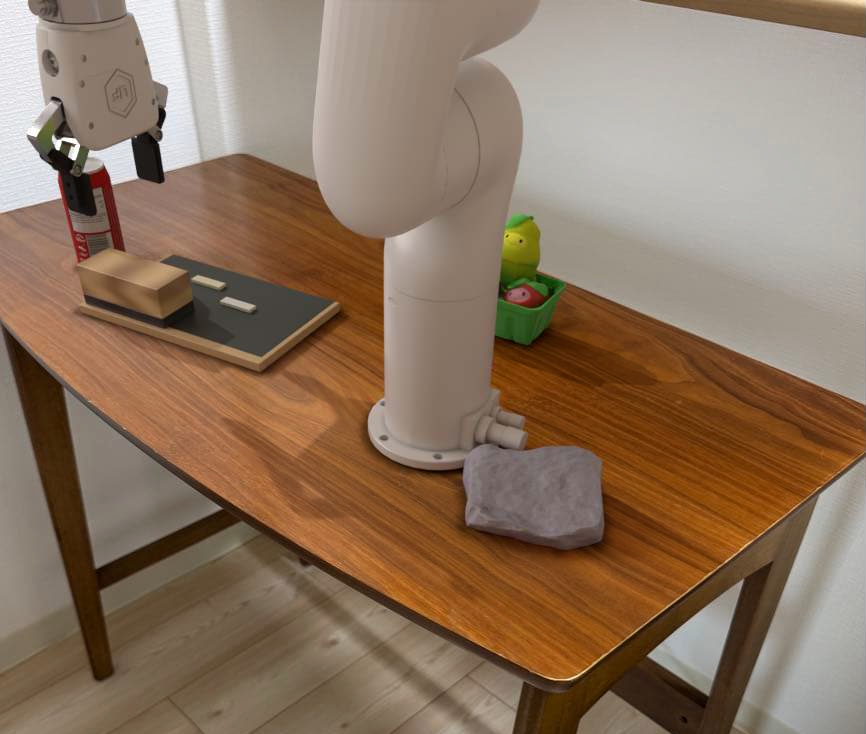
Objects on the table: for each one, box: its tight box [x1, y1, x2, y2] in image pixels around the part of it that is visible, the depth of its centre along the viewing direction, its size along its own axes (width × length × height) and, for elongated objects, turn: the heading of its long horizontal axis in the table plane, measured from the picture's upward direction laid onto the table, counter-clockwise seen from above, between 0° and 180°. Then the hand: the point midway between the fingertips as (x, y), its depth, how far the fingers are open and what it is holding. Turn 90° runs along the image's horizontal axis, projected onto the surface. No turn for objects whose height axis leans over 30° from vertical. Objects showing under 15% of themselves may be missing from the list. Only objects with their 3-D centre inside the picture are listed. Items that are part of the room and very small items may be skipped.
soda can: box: [57, 156, 127, 264], centre depth 103 cm, size 6×6×12 cm
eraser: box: [75, 248, 195, 329], centre depth 97 cm, size 11×5×4 cm, turn 62°
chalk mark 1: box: [191, 275, 226, 290], centre depth 102 cm, size 4×1×1 cm, turn 62°
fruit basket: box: [494, 213, 567, 346], centre depth 96 cm, size 11×9×11 cm
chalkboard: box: [78, 253, 341, 373], centre depth 99 cm, size 24×15×1 cm, turn 62°
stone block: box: [462, 444, 605, 551], centre depth 75 cm, size 12×5×10 cm
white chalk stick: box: [220, 297, 256, 313], centre depth 99 cm, size 4×1×1 cm, turn 62°
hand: (118, 196), depth 90 cm, fingers open, 9 cm apart
